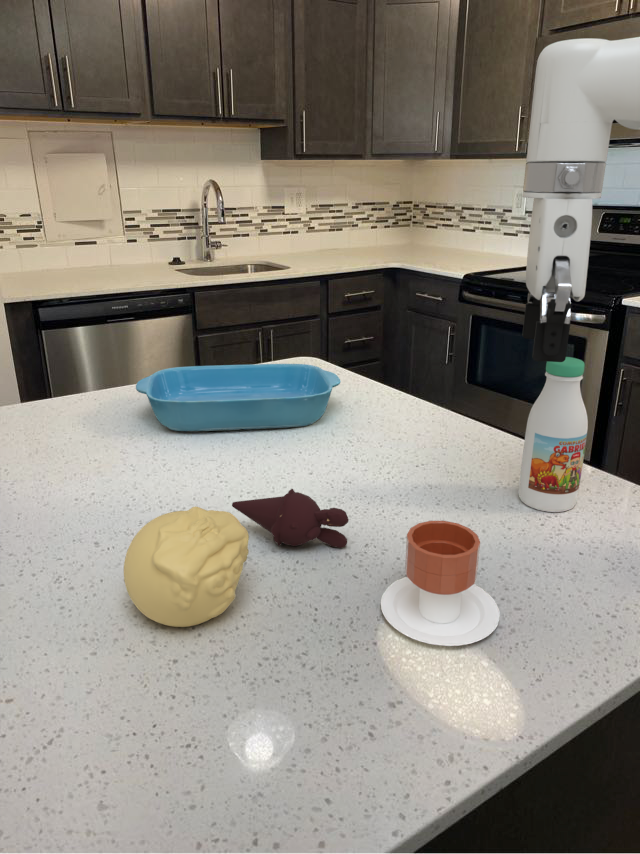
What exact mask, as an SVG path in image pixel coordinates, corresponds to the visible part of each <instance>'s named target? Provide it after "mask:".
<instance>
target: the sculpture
mask: <svg viewBox="0 0 640 854" xmlns="http://www.w3.org/2000/svg"><path fill="white" fill-rule="evenodd" d="M249 537H250V535H249V532H248V529H247V528H246V527H245V526H244V525H242V524H241V522H240V521H239V519H238V518H237V517H236V516H235V515H234V514H233V513H231V512H229V511H224V510H213V509H209V510H207V509H204V508H201V507H199V506H192V507H191V508H189V509H187V510H176V511H170V512H166V513H164V514H161V515H159V516H157V517H155V518H153V519H151V520H149V521H148V522H147V523H146V524H145V525H143V526H142V527H141V528H140V529H139V531H137V533H136V534H135V535H134V536H133V538H132V540H131V541H130V544H129V546H128V548H127V551H126V554H125V556H124V562H123V579H124V585H125V588H126V592H127V594H128V595H129V598H130V599H131V602H132V603H133V604H134V606H135V607H136V608H137V610H139V612H140V613H142V614H143V616H145V617H146V618H148V619H149V620H152V621H154V622H156V623H158V624H161V625H163V626H164V625H165V626H169V627H175V628H188V627H193V626H197V625H200V624H203V623H206V622H208V621H209V620H212V619H213V618H217V617H218V616H220V615H222V614H223V613H224V612H225V611H226V610H227V609H228V608H229V606H230V605H231V604H233V602H234V600H235V599H236V590H237V587H238V584H239V582H240V580H241V579H240V578H241V575H242V573H243V569H244V563H245V562H246V561H247V560H248V555H249V551H250V550H249V539H250V538H249Z"/></svg>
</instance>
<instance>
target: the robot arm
mask: <svg viewBox="0 0 640 854" xmlns="http://www.w3.org/2000/svg"><path fill="white" fill-rule="evenodd" d="M534 74H535V75H534V84H533V94H532V103H531V112H530V120H529V121H530V122H529V130H528V141H527V150H526V151H527V154H526V161H525V162H526V163H525V169H524V178H523V189H522V198H527V199H533V202H532V210H531V218H530V226H529V227H530V228H529V236H528V244H527V245H528V246H527V255H526V267H525V268H526V269H525V286H526V288H527V290H528V293H527V303H525V309H524V317H523V327H522V334H521V335H522V338H523V339H525V340H533V347H532V354H531V355H532V359H533V361H535V362H546V363H547V362H564V361H565V359H566V357H567V352H568V346H569V345H568V343H569V337H570V330H571V317H572V315H571V314H572V311H571V308H572V305H571V304H572V302H571V301H572V300H574V302H580V301H582V300H583V299H584V298H585V295H586V288H587V278H588V269H589V257H590V247H591V239H592V238H591V237H592V227H593V225H592V223H593V199H594V200H596V199H602V192H603V188H604V187H603V186H604V180H605V173H606V166H607V160H608V153H609V146H610V140H611V139H610V138H611V132H612V127H613V126H612V125H613V122H614V121H616V123H618V124H619V125H621V126H622V127H624V128H627V129H630V130H636V131H637V130H640V36H637V37H630V38H623V39H614V40H608V39H605V38H590V37H589V38H588V37H587V38H586V37H585V38H572V39H565V40H558V41H556V42H553V43H550V44H548V45H546V46H545V47H544V48H543V49H542V51H541V52H540V53H539V56H538V58H537V61H536V66H535V73H534ZM571 299H572V300H571Z"/></svg>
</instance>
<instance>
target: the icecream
mask: <svg viewBox="0 0 640 854" xmlns="http://www.w3.org/2000/svg"><path fill="white" fill-rule="evenodd" d="M231 506H232V508H234V509H235V510H236V511H238V512H240V513H241V514H242V515H244V516H246V517H247V518H248V519H250V520H252V522H254V523H255V524H257V525H259V526H260V527H262V528H263V529H265V530H266V531H267V532H269V533H271V535H272V536H273V541H274V543H276V544H277V546H278V547H280V546H281V545H282V544H284V545H287V546H292V547H298V546H301V545H305V544H307V543H308V542H311V541H315V540H316V539H318V540H319V541H320V542H322V543H323V544H325V545H328V546H330V547H333V548H338V549H343V548H345V547H346V546H347V545H348V538H347V537H346V535H345V534H343V533H341V532H340V531H339V530H337V529H333V527H334V528H341V527H345V526H346V525H347V524H348V523H349V517H348V515H347V512H346V511H345V510H344V509H342V508H337V507H330V508H324V509H321V508H320V507H319V505H318V504H317V502H316V501H315V500H314V499H313V498H311V496H309V495H307V494H305V493H302V492H300V491H299V492H298V491H295V489H293V488H291V489H289V490H288V492H287V493H285V494H284V495H282V496H273V497H266V498H255V499H248V500H247V499H246V500H238V501H232V503H231ZM322 526H327V527H322ZM328 527H332V528H328Z"/></svg>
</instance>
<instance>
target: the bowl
mask: <svg viewBox="0 0 640 854" xmlns="http://www.w3.org/2000/svg"><path fill="white" fill-rule="evenodd" d="M405 541H406V542H405V563H404V571H405V575H406V577H408V578H409V579H410V581H411V582H412V583H413V584H415V585H416V586H417V587H419V588H421V589H422V590H425V591H427V592H430V593H434V594H441V595H450V594H456V593H460V592H462V591H464V590H467V589H468V588H469V587H471V586H472V585H474V584H475V585H476V581H477V577H478V569H479V559H480V551H481V540H480V538H479V536H478V533H476V532H475V531H474V530H472V529H471V528H470V527H467V526H465V525H463V524H460V523H458V522H453V521H447V520H428V521H427V520H426V521H423V522H419V523H417V524H415V525H413V526H411V527H410V529H409V530H408V531H407V533H406V540H405Z"/></svg>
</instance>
